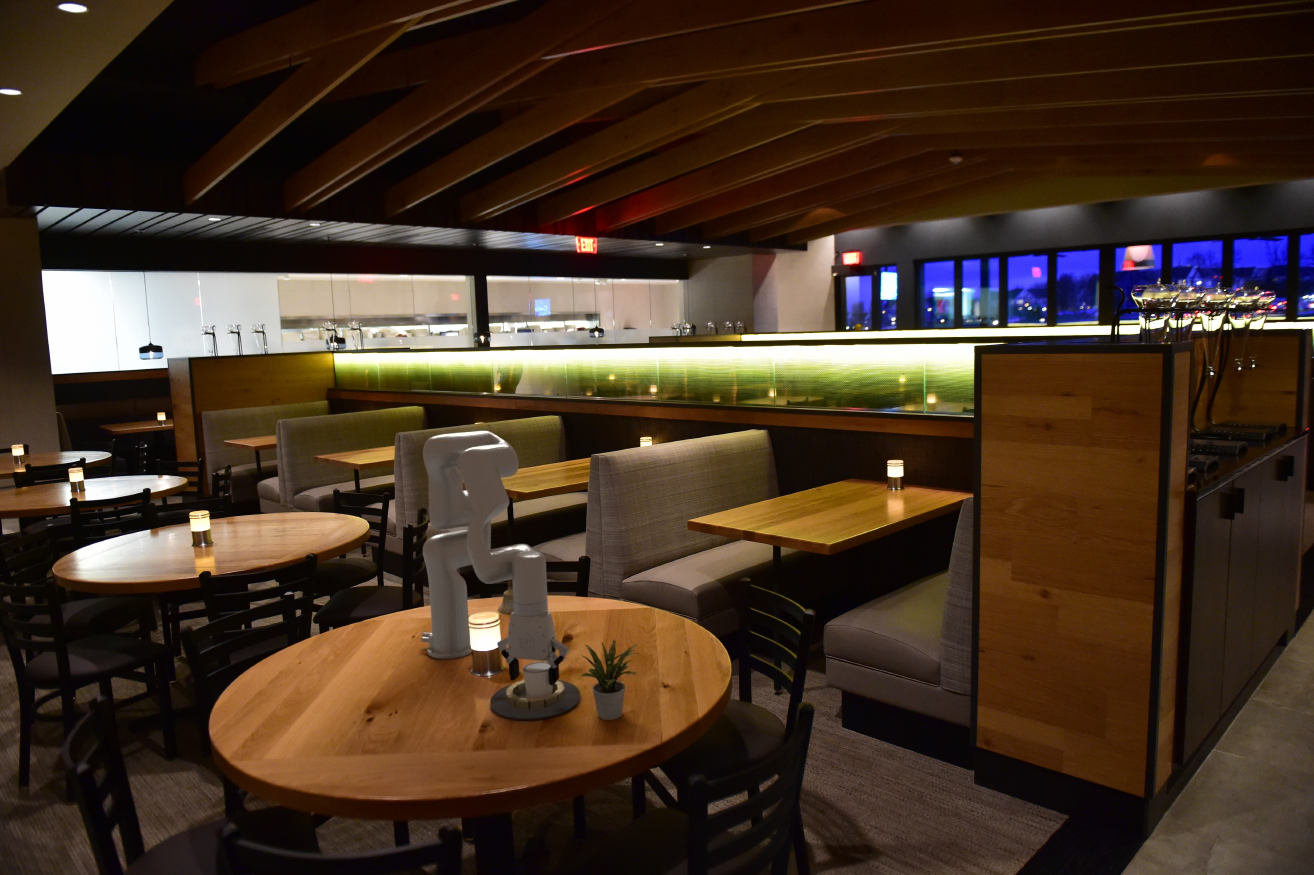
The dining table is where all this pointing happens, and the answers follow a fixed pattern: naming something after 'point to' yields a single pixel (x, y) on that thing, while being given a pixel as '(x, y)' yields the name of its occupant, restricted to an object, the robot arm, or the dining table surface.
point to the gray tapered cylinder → (537, 680)
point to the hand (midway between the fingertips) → (534, 680)
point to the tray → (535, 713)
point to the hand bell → (507, 599)
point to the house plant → (609, 682)
